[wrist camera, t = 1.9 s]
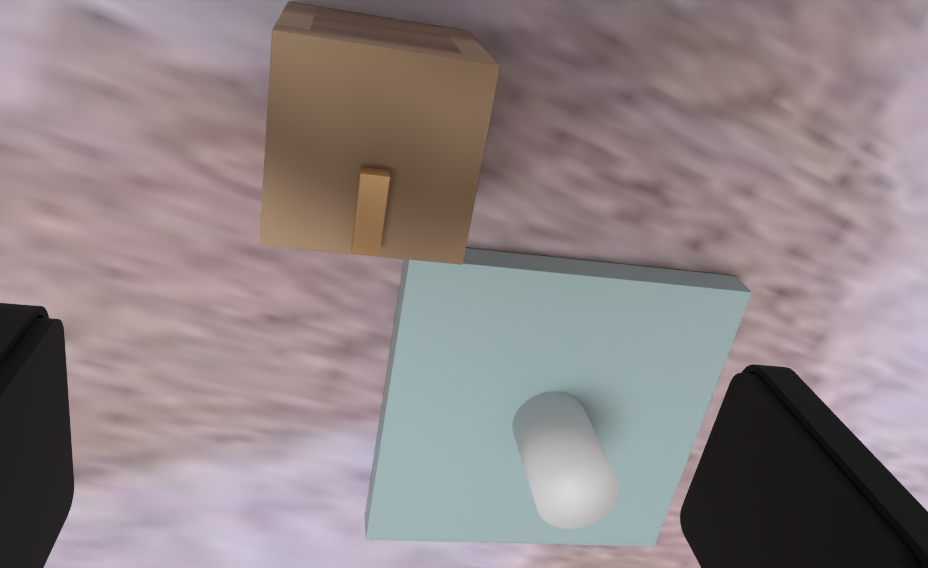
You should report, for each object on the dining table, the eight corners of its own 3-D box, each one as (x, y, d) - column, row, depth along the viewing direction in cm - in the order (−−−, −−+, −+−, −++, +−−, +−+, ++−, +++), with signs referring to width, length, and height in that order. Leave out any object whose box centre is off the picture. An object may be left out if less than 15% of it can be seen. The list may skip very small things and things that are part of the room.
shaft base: (406, 241, 29) (420, 319, 23) (734, 275, 31) (813, 351, 26) (365, 515, 35) (368, 626, 29) (643, 523, 37) (692, 625, 32)
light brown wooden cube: (288, 1, 24) (269, 33, 18) (468, 31, 25) (504, 69, 20) (276, 176, 27) (257, 253, 21) (440, 195, 28) (465, 273, 22)
